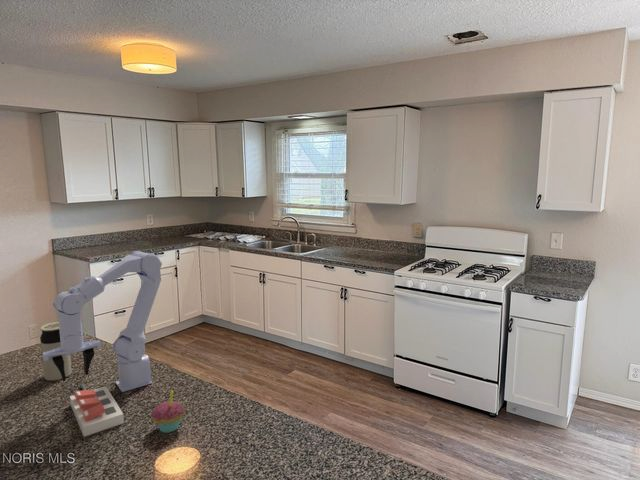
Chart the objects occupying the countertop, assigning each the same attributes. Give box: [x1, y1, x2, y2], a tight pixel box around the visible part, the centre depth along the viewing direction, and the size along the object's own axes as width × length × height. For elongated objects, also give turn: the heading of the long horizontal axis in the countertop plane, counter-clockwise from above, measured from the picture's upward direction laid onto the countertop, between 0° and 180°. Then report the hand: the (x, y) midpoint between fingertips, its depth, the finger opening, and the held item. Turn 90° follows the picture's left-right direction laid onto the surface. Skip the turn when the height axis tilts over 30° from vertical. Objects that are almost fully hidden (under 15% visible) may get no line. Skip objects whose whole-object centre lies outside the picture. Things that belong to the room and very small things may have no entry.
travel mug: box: [39, 321, 72, 381], centre depth 146 cm, size 8×8×18 cm
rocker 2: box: [82, 403, 105, 421], centre depth 118 cm, size 5×4×1 cm
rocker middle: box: [78, 397, 101, 409], centre depth 123 cm, size 5×4×1 cm
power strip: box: [69, 383, 125, 437], centre depth 128 cm, size 10×30×3 cm, turn 39°
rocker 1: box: [73, 388, 96, 400], centre depth 128 cm, size 5×4×1 cm
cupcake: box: [150, 388, 185, 434], centre depth 117 cm, size 9×8×12 cm
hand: (75, 376), depth 127 cm, fingers open, 5 cm apart
